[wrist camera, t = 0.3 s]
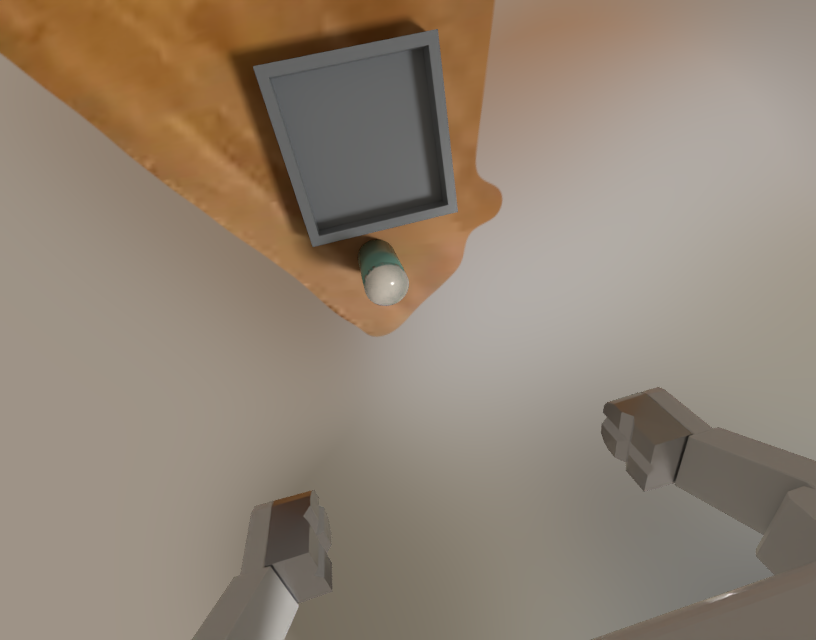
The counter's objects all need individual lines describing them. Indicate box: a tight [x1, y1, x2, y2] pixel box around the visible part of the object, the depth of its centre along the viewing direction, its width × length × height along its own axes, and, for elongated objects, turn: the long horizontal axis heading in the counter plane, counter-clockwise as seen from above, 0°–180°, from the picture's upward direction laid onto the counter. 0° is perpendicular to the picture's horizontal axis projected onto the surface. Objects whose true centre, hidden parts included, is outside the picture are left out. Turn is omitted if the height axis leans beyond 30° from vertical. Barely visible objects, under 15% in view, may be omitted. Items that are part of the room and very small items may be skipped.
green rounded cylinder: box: [358, 240, 409, 306], centre depth 51 cm, size 6×6×10 cm
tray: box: [253, 29, 458, 247], centre depth 46 cm, size 20×20×4 cm
